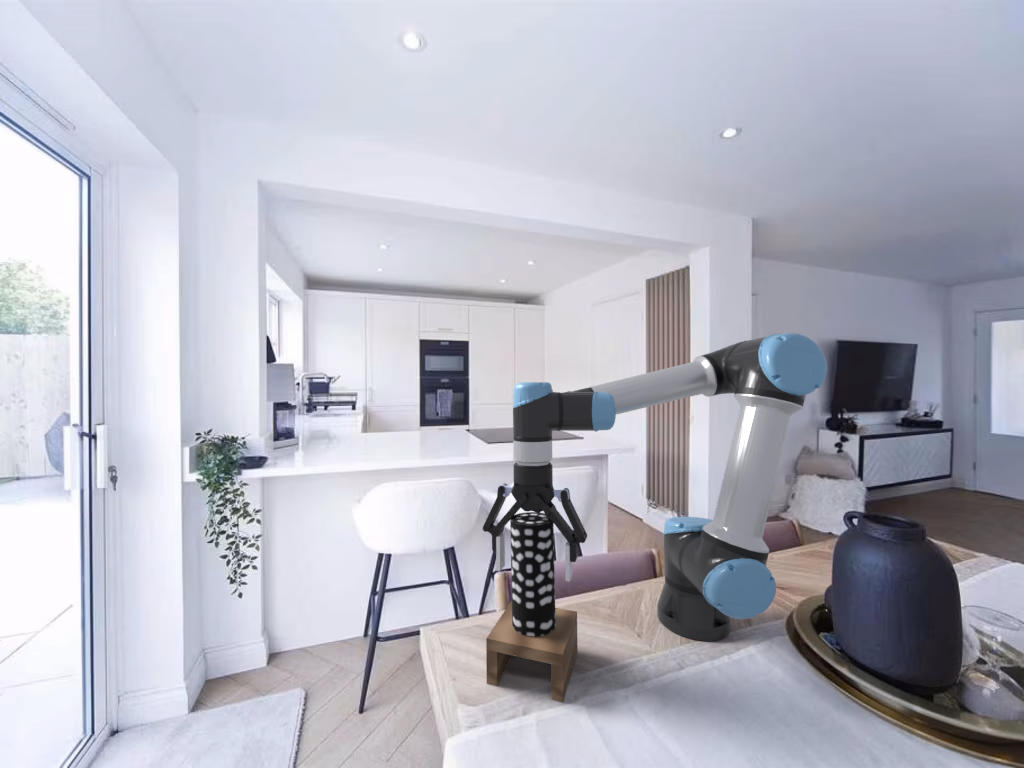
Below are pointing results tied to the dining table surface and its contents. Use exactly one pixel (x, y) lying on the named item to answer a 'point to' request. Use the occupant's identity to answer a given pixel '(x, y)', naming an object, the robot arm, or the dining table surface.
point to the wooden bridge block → (534, 649)
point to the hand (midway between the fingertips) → (533, 573)
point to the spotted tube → (532, 573)
